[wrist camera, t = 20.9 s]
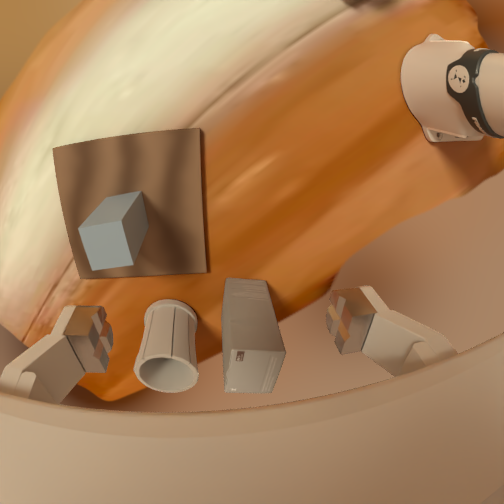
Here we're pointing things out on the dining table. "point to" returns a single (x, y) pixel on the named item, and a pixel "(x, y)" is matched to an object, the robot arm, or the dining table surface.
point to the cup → (168, 347)
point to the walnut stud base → (153, 191)
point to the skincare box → (250, 338)
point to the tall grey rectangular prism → (115, 231)
